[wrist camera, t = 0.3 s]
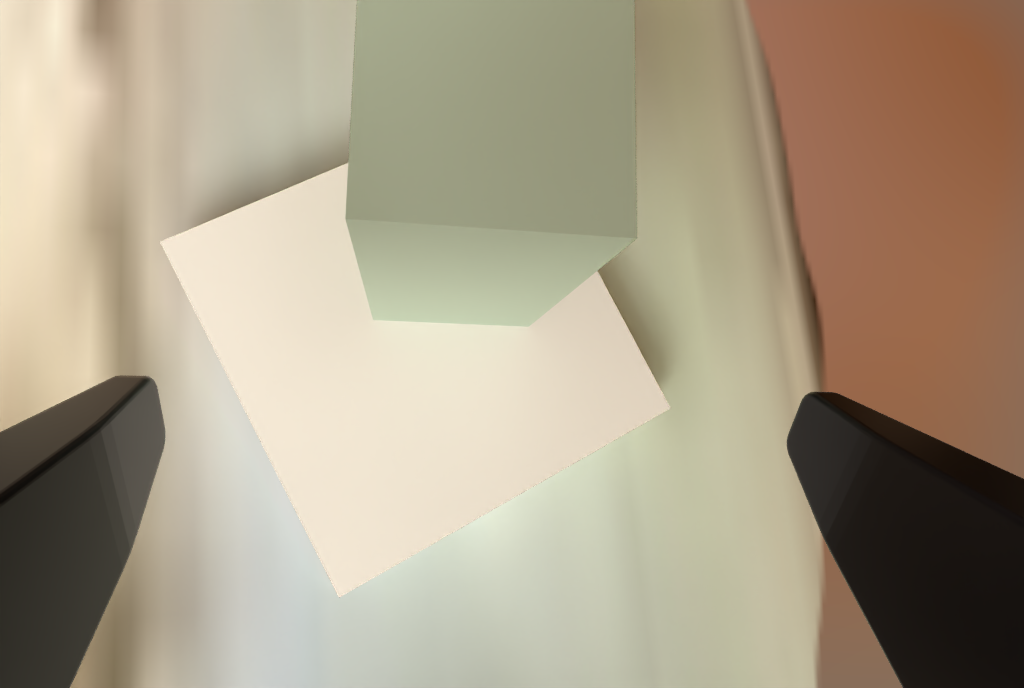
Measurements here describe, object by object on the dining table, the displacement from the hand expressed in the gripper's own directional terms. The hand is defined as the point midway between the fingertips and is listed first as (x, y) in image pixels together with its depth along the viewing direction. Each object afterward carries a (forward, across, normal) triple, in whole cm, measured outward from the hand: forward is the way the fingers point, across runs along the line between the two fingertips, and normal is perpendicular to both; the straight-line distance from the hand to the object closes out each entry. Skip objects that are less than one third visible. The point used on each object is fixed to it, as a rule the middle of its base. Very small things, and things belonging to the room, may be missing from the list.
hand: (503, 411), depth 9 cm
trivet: (+13, +1, +6) cm, 14 cm away
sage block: (+13, 0, +2) cm, 13 cm away
